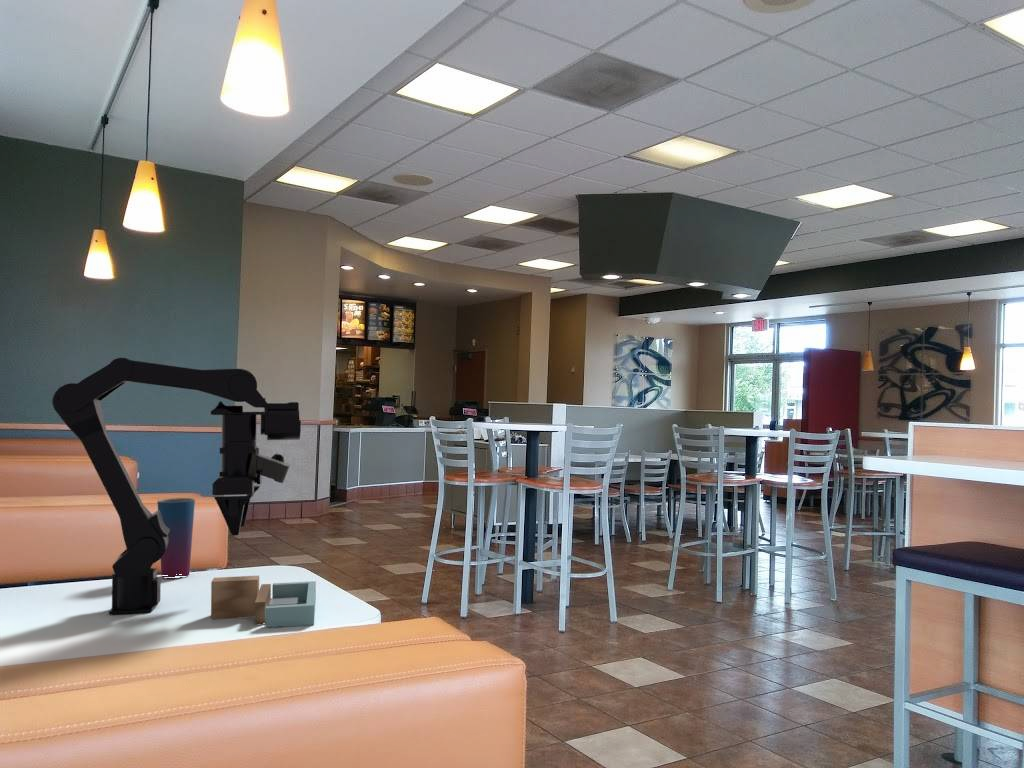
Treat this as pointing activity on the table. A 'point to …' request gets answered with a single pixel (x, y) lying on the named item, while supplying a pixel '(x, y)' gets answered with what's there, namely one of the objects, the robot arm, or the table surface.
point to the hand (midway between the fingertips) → (238, 530)
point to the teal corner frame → (292, 613)
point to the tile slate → (283, 601)
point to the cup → (177, 535)
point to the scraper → (239, 598)
